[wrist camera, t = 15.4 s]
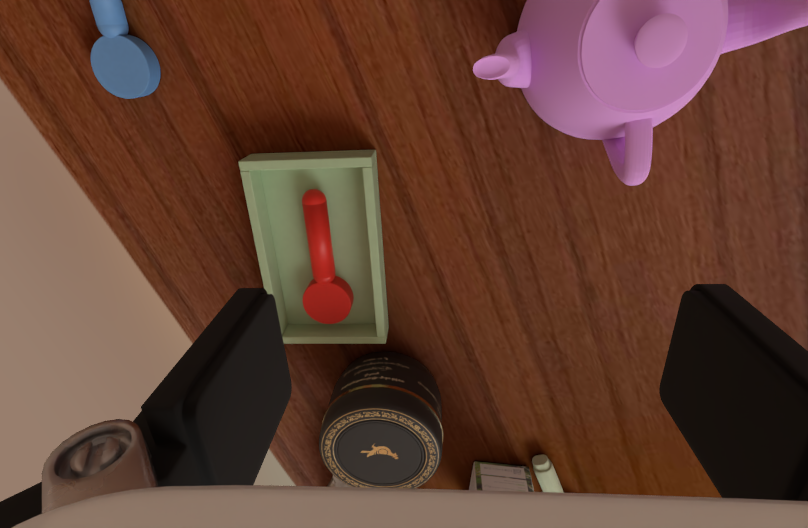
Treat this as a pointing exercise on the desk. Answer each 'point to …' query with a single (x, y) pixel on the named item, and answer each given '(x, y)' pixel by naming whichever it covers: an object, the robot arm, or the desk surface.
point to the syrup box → (500, 477)
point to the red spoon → (323, 265)
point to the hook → (546, 474)
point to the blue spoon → (121, 54)
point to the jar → (383, 423)
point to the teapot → (626, 63)
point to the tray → (350, 233)
